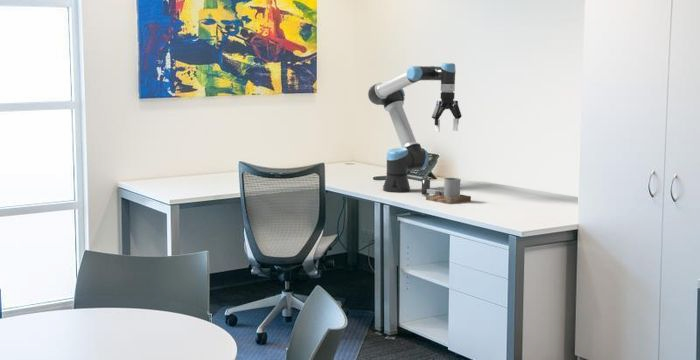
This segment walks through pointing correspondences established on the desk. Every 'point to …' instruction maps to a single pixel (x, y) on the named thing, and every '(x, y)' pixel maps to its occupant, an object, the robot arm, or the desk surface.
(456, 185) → the cup
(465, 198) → the dock
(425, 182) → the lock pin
